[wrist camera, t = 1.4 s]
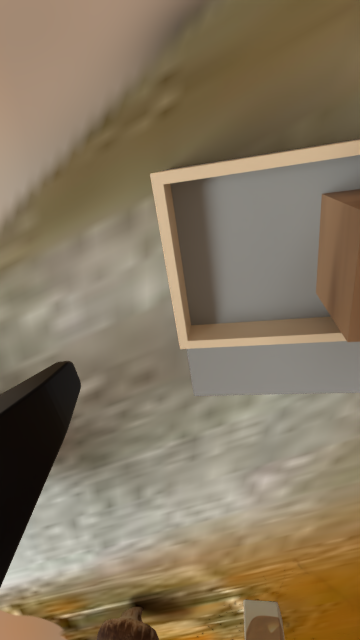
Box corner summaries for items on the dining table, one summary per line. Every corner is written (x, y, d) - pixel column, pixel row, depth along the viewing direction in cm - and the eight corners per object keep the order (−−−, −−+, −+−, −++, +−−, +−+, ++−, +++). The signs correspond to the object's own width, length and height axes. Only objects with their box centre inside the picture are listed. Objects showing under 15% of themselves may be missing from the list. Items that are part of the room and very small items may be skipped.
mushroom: (147, 621, 47) (137, 683, 41) (100, 602, 46) (82, 663, 40) (172, 605, 43) (164, 671, 37) (120, 584, 42) (104, 648, 36)
